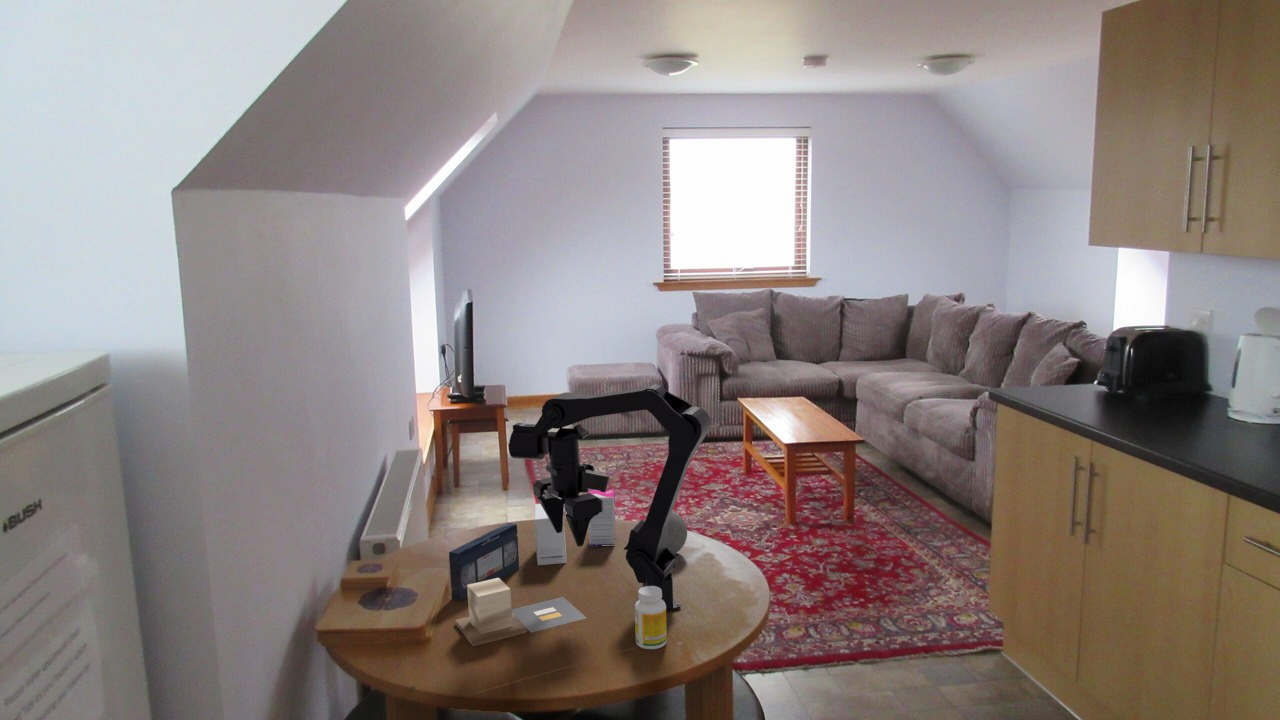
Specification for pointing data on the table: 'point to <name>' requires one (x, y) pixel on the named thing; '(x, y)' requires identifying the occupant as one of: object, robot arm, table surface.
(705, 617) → the table surface
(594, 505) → the robot arm
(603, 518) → the supplement box
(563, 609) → the gray tile
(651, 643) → the supplement bottle
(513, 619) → the walnut pad
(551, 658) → the table surface
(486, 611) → the maple block
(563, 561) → the skincare box
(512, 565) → the vhs cassette tape
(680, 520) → the decorative ball
